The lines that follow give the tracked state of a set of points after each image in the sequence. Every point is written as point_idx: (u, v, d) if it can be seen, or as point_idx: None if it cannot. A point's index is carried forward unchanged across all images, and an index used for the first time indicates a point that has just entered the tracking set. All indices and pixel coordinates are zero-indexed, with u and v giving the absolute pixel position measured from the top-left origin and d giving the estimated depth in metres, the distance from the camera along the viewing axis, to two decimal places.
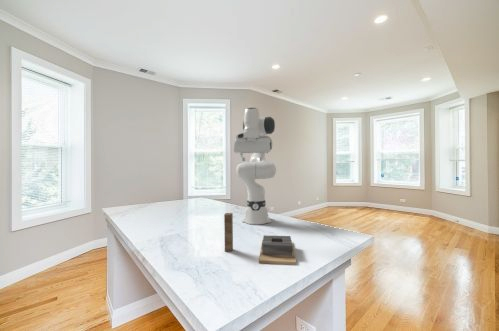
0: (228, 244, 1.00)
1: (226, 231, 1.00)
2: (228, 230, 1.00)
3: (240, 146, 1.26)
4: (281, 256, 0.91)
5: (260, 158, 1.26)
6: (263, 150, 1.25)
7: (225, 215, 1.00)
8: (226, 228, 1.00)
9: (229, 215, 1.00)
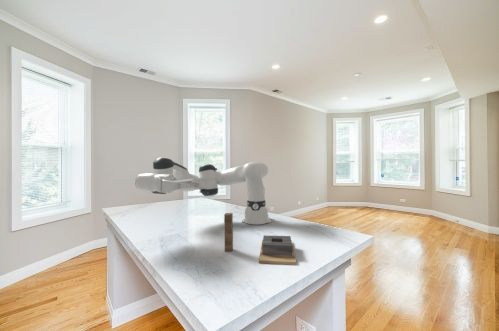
0: (228, 244, 1.00)
1: (226, 231, 1.00)
2: (228, 230, 1.00)
3: (173, 181, 1.02)
4: (281, 256, 0.91)
5: (196, 182, 1.12)
6: (190, 179, 1.14)
7: (225, 215, 1.00)
8: (226, 228, 1.00)
9: (229, 215, 1.00)
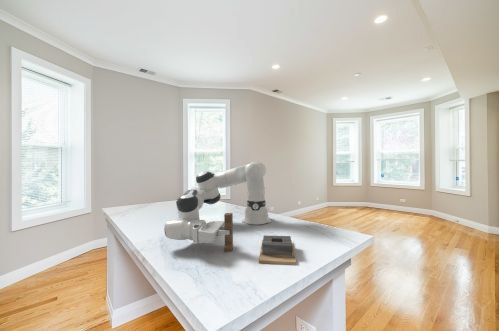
0: (228, 244, 1.00)
1: None
2: None
3: (209, 230, 0.96)
4: (281, 256, 0.91)
5: None
6: (222, 222, 1.08)
7: (225, 215, 1.00)
8: (226, 228, 1.00)
9: (229, 215, 1.00)
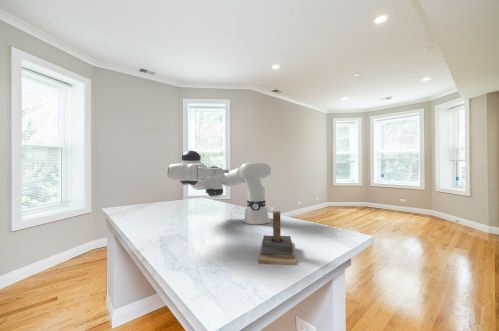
0: None
1: (275, 230, 0.97)
2: (277, 229, 0.97)
3: None
4: (281, 256, 0.91)
5: None
6: None
7: (274, 213, 0.97)
8: (275, 227, 0.97)
9: (278, 213, 0.97)
